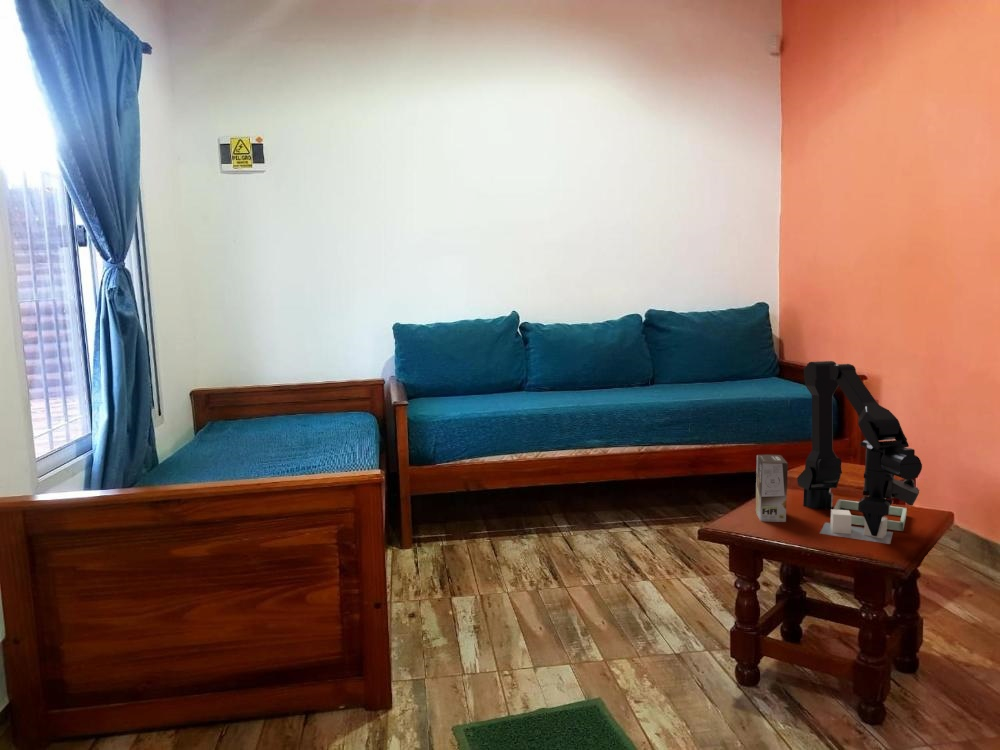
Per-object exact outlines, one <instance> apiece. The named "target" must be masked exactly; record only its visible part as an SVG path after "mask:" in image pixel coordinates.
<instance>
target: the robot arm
mask: <svg viewBox="0 0 1000 750" xmlns="http://www.w3.org/2000/svg"><path fill="white" fill-rule="evenodd" d="M803 377H804V385H805V387H806V389H807V390H808V392H809V393H810V394H811V451H810V452H809V454H808V456H807V458H806V459H805V465H804V470H803V471H802V472H800V474H799V475H798V476H797V478H796V479H797V480H796V481H797V485H798V487H800V488H801V489H802V488H803V495H802V496H803V498H802V499H803V500H802V501H803V502H802V506H803V507H807V508H809V509H812V510H831V509H832V508H833V500H834V499H833V498H834V497H833V496H834V493H833V492H831V490H832V489H837V487H838V485H839V482H840V479H841V476H842V474H843V470H842V458H841V457H838V456H837V455H836V453H835V451H834V447H833V446H834V445H833V443H834V437H833V436H834V434H833V433H834V432H833V431H834V430H833V417H834V416H833V396H834V394H835V392H836V390H837V389H838V387H839V388H840V389H841V391H842V393H843V395H844V396H845V397H846V398H847V400H848V402H849V403H850V405H851V406H852V408H853V409H854V410H855V413H856V414H857V416H858V421H857V425H858V427H859V429H860V431H861V433H862V435H863V437H864V438H865V439H864V440H863V441H860V444H859V445H860V446H861V447H863V448H865V461H864V463H865V464H864V465H865V466H864V473H863V478H864V483H863V490H862V495H863V497H862V498H861V499H860V500H859V501H858V502H859V504H858V510H857V512H859V513H861V514H862V516H863V517H864V518H865V520H866V522H867V525H868V527H869V530H870V532H871V535H872V536H877V534H878V530H879V527H880V523H881V519H882V517H887V516H890V515H889V512H890V506H892V504H893V500H892V499H894V498H896V500H899V501H902V502H904V503H905V504H907V505H909V506H914V504H915V503H916V500H917V499H918V496H919V494H920V489H919V488H918V487H917V486H915V479H917V478H918V477H919V475H920V474H921V472H922V470H923V463H922V460H921V459H920V458H919V456H917V455H916V453H915V452H916V451H915V449H913V448H909V443H908V438H907V437H906V434H905V433H904V431H903V428H902V426H901V423H900V421H899V420H898V418H897V417H896V416H895V415H894V414H893V413H892V412H891V411H890V410H889V409H888V408H885V407H883V406H882V405H880V404H879V403H878V402H877V401H876V399H875V398H874V396H873V395H872V394H871V391H869V389H868V388H867V386H866V385H865V383H864V382H863V381H862V379H861V377H860V376H859V375H858V373H857V370H856V367H855V366H854V364H850V363H841V364H840V363H836V361H833V360H821V361H819V360H818V361H809V362H808V363H807V365H806V366H804V368H803ZM895 476H896V477H898V478H901V479H904V480H899V479H895Z"/></svg>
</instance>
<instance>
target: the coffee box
mask: <svg viewBox="0 0 1000 750" xmlns="http://www.w3.org/2000/svg"><path fill="white" fill-rule="evenodd" d="M788 468H789V463H788V462H787V460H786V459H785V458H784V457H783V456H782V455H781V454H757V455H756V470H755V471H756V472H755V474H756V475H755V477H756V479H755V481H756V482H755V512H756V513H755V514H756V516H757V517H758V519H759V521H760V522H773V523H775V522H776V523H777V522H779V523H780V522H781V523H786V522H787V500H788Z"/></svg>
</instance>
